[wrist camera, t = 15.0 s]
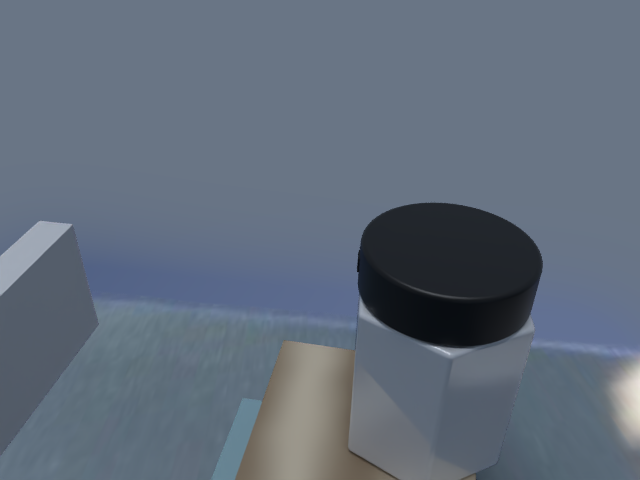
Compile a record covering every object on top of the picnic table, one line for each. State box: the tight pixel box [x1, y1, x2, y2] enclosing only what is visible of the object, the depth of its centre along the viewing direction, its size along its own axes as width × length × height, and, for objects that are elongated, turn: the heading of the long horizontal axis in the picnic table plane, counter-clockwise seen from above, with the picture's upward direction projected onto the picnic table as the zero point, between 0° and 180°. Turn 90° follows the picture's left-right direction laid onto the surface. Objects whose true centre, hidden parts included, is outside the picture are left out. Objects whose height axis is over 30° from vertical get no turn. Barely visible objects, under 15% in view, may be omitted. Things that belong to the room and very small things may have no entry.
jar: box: [348, 203, 543, 480], centre depth 31 cm, size 9×8×12 cm
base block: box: [235, 340, 476, 480], centre depth 35 cm, size 12×12×6 cm
